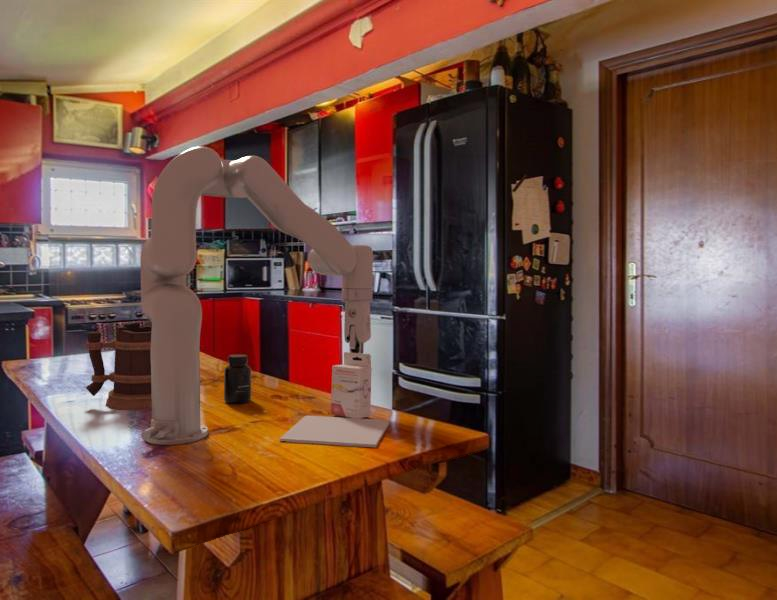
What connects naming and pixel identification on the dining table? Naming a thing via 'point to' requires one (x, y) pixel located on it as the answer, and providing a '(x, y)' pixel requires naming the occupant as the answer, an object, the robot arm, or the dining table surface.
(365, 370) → the ink cartridge box
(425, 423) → the dining table surface
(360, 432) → the mat
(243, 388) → the supplement bottle
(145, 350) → the mug
